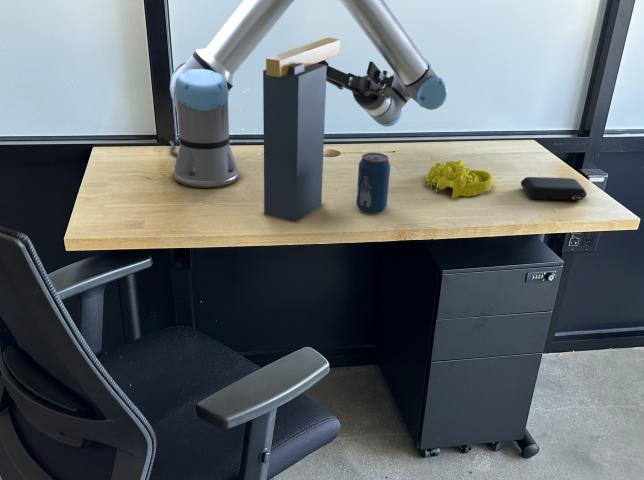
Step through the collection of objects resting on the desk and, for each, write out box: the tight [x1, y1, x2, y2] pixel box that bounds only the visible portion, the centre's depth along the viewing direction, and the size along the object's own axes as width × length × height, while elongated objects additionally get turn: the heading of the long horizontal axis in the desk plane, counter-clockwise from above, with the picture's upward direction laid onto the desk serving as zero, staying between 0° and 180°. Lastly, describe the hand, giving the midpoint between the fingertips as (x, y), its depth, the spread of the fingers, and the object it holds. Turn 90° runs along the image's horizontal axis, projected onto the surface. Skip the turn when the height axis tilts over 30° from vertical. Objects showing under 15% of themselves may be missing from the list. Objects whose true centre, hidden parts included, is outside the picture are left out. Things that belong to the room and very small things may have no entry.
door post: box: [262, 63, 327, 223], centre depth 157 cm, size 12×8×32 cm, turn 154°
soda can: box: [355, 152, 391, 215], centre depth 165 cm, size 7×7×12 cm
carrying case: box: [520, 176, 588, 201], centre depth 180 cm, size 11×3×15 cm
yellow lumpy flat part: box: [424, 159, 493, 199], centre depth 183 cm, size 16×16×4 cm
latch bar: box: [265, 37, 341, 77], centre depth 151 cm, size 26×3×3 cm, turn 154°
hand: (341, 63), depth 166 cm, fingers open, 13 cm apart
